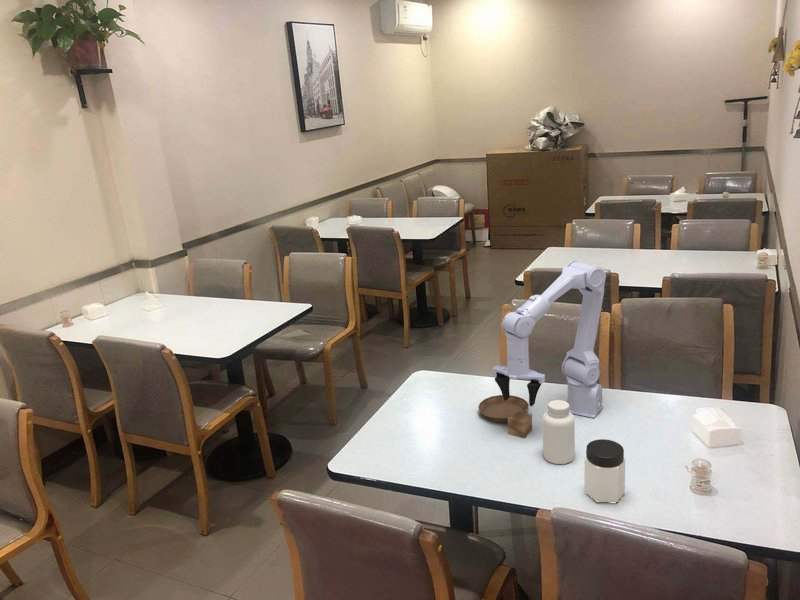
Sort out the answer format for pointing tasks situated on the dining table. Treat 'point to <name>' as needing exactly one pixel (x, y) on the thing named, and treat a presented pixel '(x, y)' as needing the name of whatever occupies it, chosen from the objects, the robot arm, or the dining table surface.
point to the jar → (604, 471)
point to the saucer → (502, 407)
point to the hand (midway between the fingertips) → (519, 401)
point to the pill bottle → (558, 433)
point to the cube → (520, 424)
